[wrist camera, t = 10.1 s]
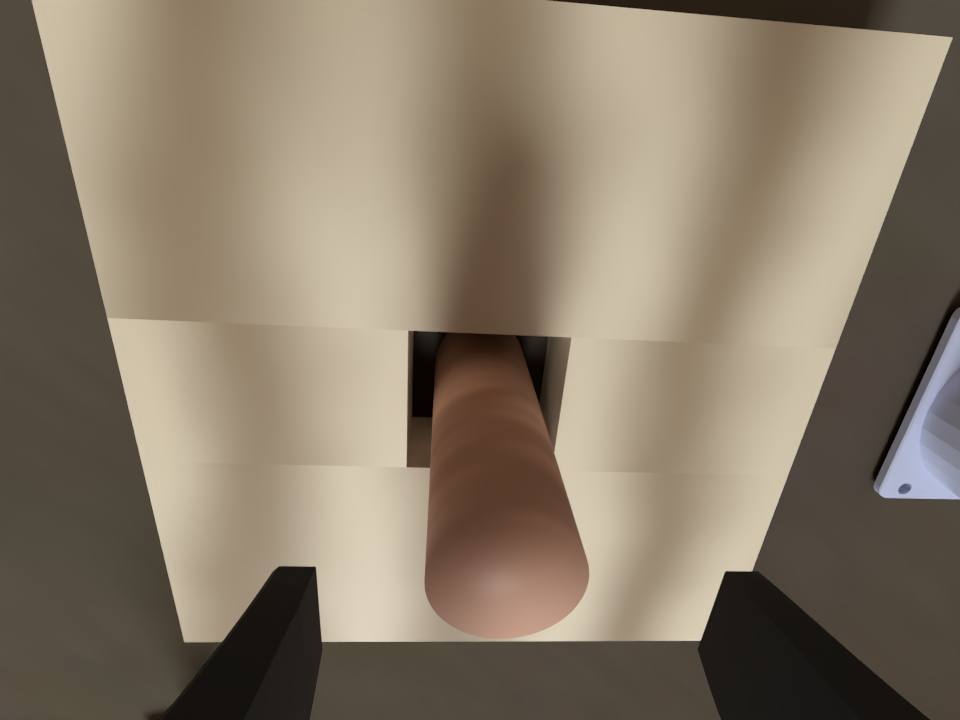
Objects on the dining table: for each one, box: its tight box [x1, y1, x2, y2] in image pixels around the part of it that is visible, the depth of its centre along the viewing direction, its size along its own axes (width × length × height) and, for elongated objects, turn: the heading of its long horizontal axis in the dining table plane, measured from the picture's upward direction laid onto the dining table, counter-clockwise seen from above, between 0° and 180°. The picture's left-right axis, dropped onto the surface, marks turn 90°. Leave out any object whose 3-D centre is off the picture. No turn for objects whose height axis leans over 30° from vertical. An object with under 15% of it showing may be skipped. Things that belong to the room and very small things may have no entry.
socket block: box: [32, 0, 953, 642], centre depth 17 cm, size 20×20×3 cm
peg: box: [424, 332, 589, 639], centre depth 14 cm, size 3×3×10 cm
